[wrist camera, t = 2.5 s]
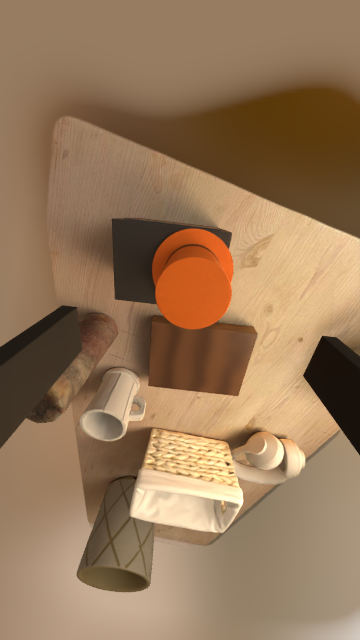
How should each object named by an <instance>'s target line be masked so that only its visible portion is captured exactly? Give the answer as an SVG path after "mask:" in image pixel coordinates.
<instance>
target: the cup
mask: <svg viewBox="0 0 360 640" xmlns="http://www.w3.org/2000/svg"><path fill="white" fill-rule="evenodd" d="M101 383H102V384H101V386H100V387H99V389H98V391H97V393H96V394H95V396H94V397H93V399H92V401H91V402H90V404H89V405H88V407H87V408H86V410H85V411H84V413H83V414H82V416H81V417H80V425H81V428H82V429H83V431H84V432H85V433H86V434H88V435H89V436H91V437H93V438H95V439H98V440H102V441H114V440H118V439H120V438H122V437H123V436H124V435H125V433H126V430H127V426H128V422H129V421H140V420H142V419H143V418H144V414H145V408H146V401H145V400H144V399H143V397H139V396H135V395H136V394H137V393H138V390H139V387H140V381H139V379H138V377H137V376H136V375H135V374H134V373H133V372H132V371H130V370H128V369H125V368H113V369H110V370H108V371H107V372H106V373H105V375H104V376H103V378H102V382H101ZM133 403H134V404H137V405H138V406H139V407H140V409H139V410H138V411H131V408H132V404H133Z"/></svg>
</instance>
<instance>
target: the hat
mask: <svg viewBox="0 0 360 640" xmlns="http://www.w3.org/2000/svg"><path fill="white" fill-rule="evenodd" d="M152 275H153V280H154V284H155V286H156V290H155V297H156V302H157V305H158V308H159V310H160V311H161V313H162V314H163V316H164V317H165V318H166V319H167V320H168V321H170V322H171V323H173V324H174V325H176V326H179V327H181V328H186V329H201V328H205V327H208V326H210V325H212V324H214V323H215V322H217V321H218V320H219V319H220V318H221V317H222V316H223V315H224V314H225V312H226V311H227V309H228V307H229V305H230V301H231V296H232V289H231V281H232V277H233V260H232V256H231V254H230V251H229V249H228V248H227V246H226V245H225V243H224V242H223V241H222V240H221V239H220V238H219V237H217V236H216V235H214V234H213V233H211V232H209V231H206V230H202V229H195V228H191V229H184V230H181V231H178V232H176V233H174V234H172V235H171V236H169V237H168V238H167V239H166V240H165V241H164V242H163V243H162V244H161V245H160V247H159V248H158V250H157V252H156V254H155V256H154V260H153V265H152Z"/></svg>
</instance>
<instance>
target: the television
mask: <svg viewBox="0 0 360 640" xmlns="http://www.w3.org/2000/svg"><path fill="white" fill-rule="evenodd" d="M191 228H195V229H202V230H206V231H209V232H211V233H213V234H214V235H216V236H217V237H219V238H220V239H221V240H222V241H223V242H224V243H225V245H226V246H227V248H228V249H229V246H230V241H231V236H232V233H231V232H228V231H226V230H223V229H220V228H215V227H210V226H201V225H193V224H184V223H176V222H167V221H159V220H150V219H142V218H124V219H112V234H113V260H114V287H115V299H116V300H124V301H133V302H142V303H150V304H157V302H156V297H155V290H156V286H155V284H154V280H153V275H152V265H153V260H154V256H155V254H156V252H157V250H158V248H159V247H160V245H161V244H162V243H163V242H164V241H165V240H166V239H167V238H168V237H169V236H171V235H172V234H174V233H176V232H178V231H181V230H184V229H191Z"/></svg>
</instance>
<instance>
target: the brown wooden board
mask: <svg viewBox="0 0 360 640" xmlns="http://www.w3.org/2000/svg"><path fill="white" fill-rule="evenodd" d="M257 335H258V334H257V332H256V330H255V329H254V327H251V326H242V325H234V324H225V323H216V322H215V323H214V324H212V325H210V326H208V327H205V328H201V329H186V328H181V327H179V326H176V325H174V324H173V323H171V322H170V321H168V320H167V319H166V318H165V317H164V316H156V315H154V317H153V320H152V324H151V344H150V364H149V384H148V386H153V387H162V388H171V389H180V390H189V391H197V392H206V393H215V394H224V395H233V396H238V395H239V391H240V388H241V385H242V382H243V379H244V376H245V373H246V369H247V366H248V363H249V360H250V357H251V354H252V350H253V347H254V344H255V341H256V338H257Z"/></svg>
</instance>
